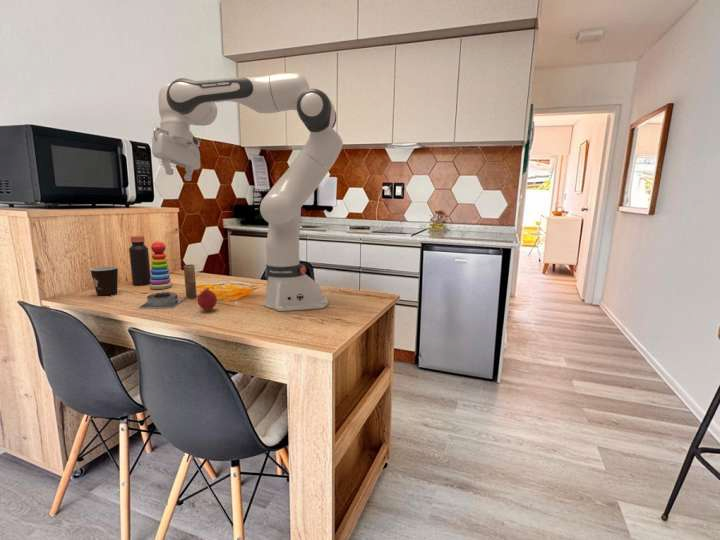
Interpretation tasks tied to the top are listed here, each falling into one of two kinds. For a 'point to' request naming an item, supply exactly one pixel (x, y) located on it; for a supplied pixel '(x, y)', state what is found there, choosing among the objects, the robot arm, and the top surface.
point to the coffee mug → (105, 280)
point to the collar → (162, 300)
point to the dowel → (190, 281)
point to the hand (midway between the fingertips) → (179, 177)
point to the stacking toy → (159, 267)
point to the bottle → (139, 261)
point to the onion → (207, 299)
